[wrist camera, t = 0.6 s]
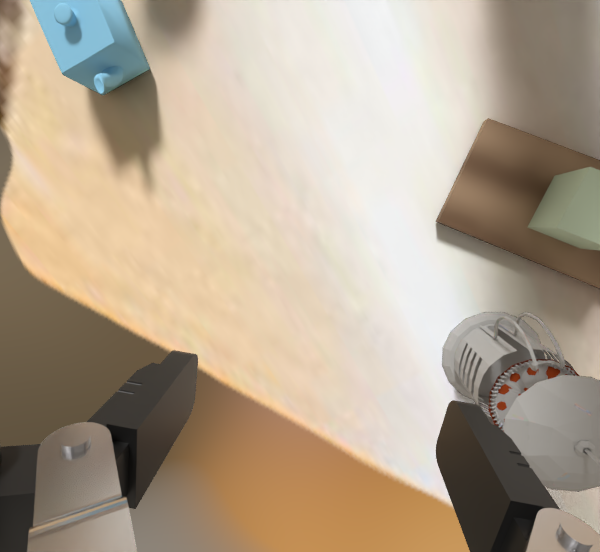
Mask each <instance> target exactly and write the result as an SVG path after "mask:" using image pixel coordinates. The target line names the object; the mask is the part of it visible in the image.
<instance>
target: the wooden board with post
mask: <svg viewBox="0 0 600 552" xmlns="http://www.w3.org/2000/svg"><path fill="white" fill-rule="evenodd" d="M587 167H593V168H595V169H598V170H600V160H598V159H595V158H592V157H590V156H587V155H584V154H582V153H579V152H576V151H574V150H571V149H568V148H566V147H563V146H560V145H558V144H555V143H553V142H550V141H547V140H545V139H542V138H539V137H537V136H534V135H531V134H529V133H526V132H523V131H521V130H518V129H515V128H513V127H510V126H507V125H505V124H502V123H499V122H497V121H494V120H491V119H489V118H488V119H487V120H485V121H484V122H483V124H482V126H481V128H480V130H479V132H478V135H477V137H476V139H475V141H474V143H473V145H472V147H471V149H470V151H469V153H468V155H467V157H466V160H465V162H464V164H463V166H462V168H461V170H460V172H459V174H458V176H457V178H456V180H455V182H454V185H453V187H452V189H451V191H450V193H449V195H448V197H447V199H446V201H445V203H444V205H443V207H442V210H441V212H440V214H439V216H438V218H437V220H436V222H438V223H441V224H443V225H446V226H448V227H450V228H453V229H455V230H458V231H460V232H463V233H465V234H468V235H470V236H473V237H475V238H477V239H480V240H482V241H485V242H487V243H490V244H492V245H495V246H497V247H499V248H502V249H504V250H507V251H509V252H512V253H514V254H517V255H519V256H522V257H524V258H526V259H529V260H531V261H534V262H536V263H539V264H541V265H544V266H546V267H548V268H551V269H553V270H556V271H558V272H561V273H563V274H566V275H568V276H571V277H573V278H575V279H578V280H580V281H583V282H585V283H588V284H590V285H593V286H595V287H597V288H600V250H590V249H580V248H578V247H575V246H573V245H570V244H568V243H565V242H563V241H560V240H558V239H555V238H553V237H550V236H548V235H545V234H543V233H540V232H538V231H535V230H533V229H530V228H528V225H529V223H530V221H531V219H532V217H533V215H534V214H535V212H536V210H537V208H538V206H539V204H540V202H541V200H542V199H543V197H544V195H545V193H546V191H547V189H548V187H549V185H550V183H551V182H552V180H553V178H554V176H555V175H559V174H563V173H567V172H571V171H575V170H579V169H583V168H587Z"/></svg>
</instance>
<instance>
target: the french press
mask: <svg viewBox="0 0 600 552" xmlns="http://www.w3.org/2000/svg"><path fill="white" fill-rule="evenodd" d="M524 316H528V317H530V318H533V319H535V320H537V321H538V322H539V323H540V324H541V326H542V327H543V328H544V330H545V331H546V332H547V334H548V335H549V337H550V339H551V341H552V342H553V344H554V346H555V348H556V351H557V354H556V353H554V352H553V351H551V350H550V349H548V348H547V347H545V346H544V345H542V344H541V342H540V340H539V337H538V334H537V333H536V332H535V331H534V330H533V329H532V328H531V327H530V326H529V325H528V324H527V323H526V322H525V321H524V320H522V319H521V318H522V317H524ZM545 350H546V351H547V352H548V353H549V354H550V355H551V357H552V358H553V359H554V360H552V359H551V357H550V355H549V354H548V353H547V352H546V351H545ZM544 352H545V353H546V355H547V358H548V359H545V356H544ZM550 352H551V353H553V354H554V355H555V357H556V358H557V359H558V360H559V361H560V363H559V362H558V361H557V360H556V358H555V357H554V356H553V355H552V354H551V353H550ZM565 364H566V365H565ZM442 366H443V369H444V371H445V374H446V376H447V379H448V381H449V382H450V383H451V384H452V385H453V386H454V387H455V388H456V389H457V390H458V391H459V392H460V393H461V394H462V395H464V396H466V397H468V398H471V399H473V400H475V401H474V402H475V403H476V404H477V405H479V406H480V407H481V406H482V407H484V408H486V409H488V410H489V411H487V410H485V409H483V408H482V407H481V408H482V410H483V411H484V412H485V413H487V414H489V415H491V417H492V418H491V417H489V416H487V415H486V414H485V415H486V416H487V418H488V419H489V421H490V422H491V424H493V425H497V426H498V427H499V428H500V429H501V430H502V431H503V432H505V433H506V434H507V435H508V436H509V437H510V438H511V439H512V440H513V442H514V443H515V444H516V446H517V447H518V449H519V450H520V452H521V456H524V458H525V459H526V461H527V462H528V463H529V465H530V466H529V467H530V468H532V469H533V471H534V472H535V474H536V475H537V477H538V478H539V480H540V481H541V483H542V484H543V485H544V486H546V487H548V488H550V489H555V490H566V491H577V492H579V491H583V490H587V489H591V488H595V487H599V486H600V380H597V379H595V378H592V377H586V376H579V375H578V374H577V373H576V371H575V370H574V369H573V367H572V366H571V365H570V364H569V363H568V362H567V361H566V360H564V358H563V355H562V352H561V350H560V347H559V345H558V343H557V341H556V340H555V338H554V337H553V335H552V333H551V332H550V331H549V329H548V328H547V327H546V325H545V324H544V323H543V321H541V320H540V319H539V318H538V317H537V316H534V315H532V314H530V313H522V314H520V315H519V316H518V318H517V317H514V316H512V315H509V314H507V313H500V312H483V313H481V314H478V315H475V316H472V317H469V318H466V319H465V320H463V321H462V322H461V323H460V324H459V325H458V326H456V327H455V328H454V329H453V330H452V331H451V332H450V334H449V336H448V338H447V340H446V342H445V344H444V346H443V354H442ZM479 402H483V403H485V404H487V405H488V406H489V407H487V406H485V405H483V404H481V403H479Z"/></svg>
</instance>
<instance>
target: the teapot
mask: <svg viewBox="0 0 600 552" xmlns="http://www.w3.org/2000/svg"><path fill="white" fill-rule="evenodd" d="M30 2H31V4H32V7H33V9H34V11H35V14H36V16H37V18H38V21H39V23H40V25H41V27H42V30H43V32H44V34H45V37H46V39H47V41H48V43H49V46H50V48H51V50H52V52H53V55H54V57H55V59H56V61H57V64H58V66H59V68H60V70H61V72H62V74H63V75H64V76H66V77H68V78H70V79H72V80H74V81H76V82H78V83H80V84H82V85H84V86H85V87H87V88H89V89H91V90H93V91H95V92H97V93H99V94H101V95H105V94H107V93H108V92H110V91H112V90H114V89H116V88H117V87H119V86H121V85H123V84H124V83H126V82H128V81H130V80H132V79H133V78H135V77H137V76H139V75H140V74H142V73H144V72H146V71H148V70H149V69H150V67H149V65H148V62H147V60H146V57H145V55H144V53H143V50H142V48H141V46H140V43H139V41H138V38H137V36H136V34H135V31H134V29H133V27H132V24H131V22H130V19H129V17H128V15H127V12H126V10H125V8H124V5H123V3H122V1H121V0H30Z"/></svg>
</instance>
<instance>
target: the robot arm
mask: <svg viewBox="0 0 600 552" xmlns="http://www.w3.org/2000/svg"><path fill="white" fill-rule="evenodd" d="M197 366H198V357H197V355H196V354H191V353H186V352H180V351H172V352H171V353H170V354H169V355H168V356H167V357H166V358H165V360H163V362H162V363H161V364H155V363H151V364H149V365H148V366H145V367H143V368H142V369H140V370H137V371H136V373H134V374H133V376H131V377H130V379H129V380H128V381H127V383H125V384H124V385H123V386H122V387H121V388H120V389H119V391H118V392H116V393H115V394H114V395H113V396H112V397H111V398H110V399H109V400H108V401H107V402H106V403H105V404H104V405H103V406H102V407H101V408H100V409H99V410H98V411H97V412H96V413H95V414H94V415H93V416H92V417H91V418H90V419H89V420H88V421H87V422H83V423H76V424H72V425H68V426H66V427H63V428H61V429H59V430H57V431H55V432H53V433H52V434H51V435H49V436H48V437H47V438H46V439H45V440H44V441H43V442H42V443H41V444H37V445H23V446H7V447H0V552H137V549H136V543H135V538H134V533H133V528H132V522H131V517H130V512H129V508H134V509H136V507H137V505H138V504H139V502H140V500H141V499H142V497H143V495H144V493H145V492H146V490H147V488H148V487H149V485H150V483H151V482H152V480H153V477H154V476H155V475H156V473H157V471H158V469H159V468H160V466H161V464H162V463H163V461H164V459H165V457H166V456H167V454H168V452H169V451H170V449H171V447H172V446H173V444H174V442H175V440H176V439H177V437H178V435H179V434H180V432H181V430H182V428H183V427H184V425H185V423H186V422H187V420H188V418H189V416H190V414H191V411H192V409H193V404H194V400H195V392H196V379H197ZM436 458H437V463H438V466H439V469H440V471H441V474H442V477H443V480H444V482H445V485H446V488H447V490H448V493H449V496H450V499H451V501H452V504H453V507H454V509H455V512H456V515H457V517H458V520H459V523H460V525H461V528H462V531H463V534H464V536H465V539H466V542H467V544H468V547H469V550H470V552H600V535H599V534H598V533H597V532H596V531H595V530H594V529H593V528H591V527H590V526H589V525H588V524H586V523H585V522H583V521H582V520H580V519H579V518H577V517H575V516H573V515H572V514H569V513H567V512H565V511H562V510H560V509H559V507H558V506H557V504H556V503H555V502H554V500H553V499H552V497H551V496H550V494H549V493H548V491H547V490H546V488H545V487H544V485H543V484H542V483H541V481H540V480H539V478H538V477H537V475H536V474H535V472H534V471H533V469H532V468H530V467H529V466H530V465H529V463H528V462H527V461H526V459H525V458H524V456H521V452H520V450H519V449H518V447H517V446H516V444H515V443H514V442H513V440H512V439H511V438H510V437H509V436H508V435H507V434H506V433H505V432H503V431H502V430H501V429H500V428H499V427H498V426H497V425H493V424H491V422H490V421H489V419H488V418H487V416H486V415H485V413H484V412H483V410H482V408H481V407H480V406H479V405H476V404H471V403H465V402H459V401H451V402H450V403H449V405H448V408H447V411H446V414H445V418H444V421H443V424H442V427H441V430H440V434H439V437H438V440H437V445H436Z"/></svg>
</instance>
